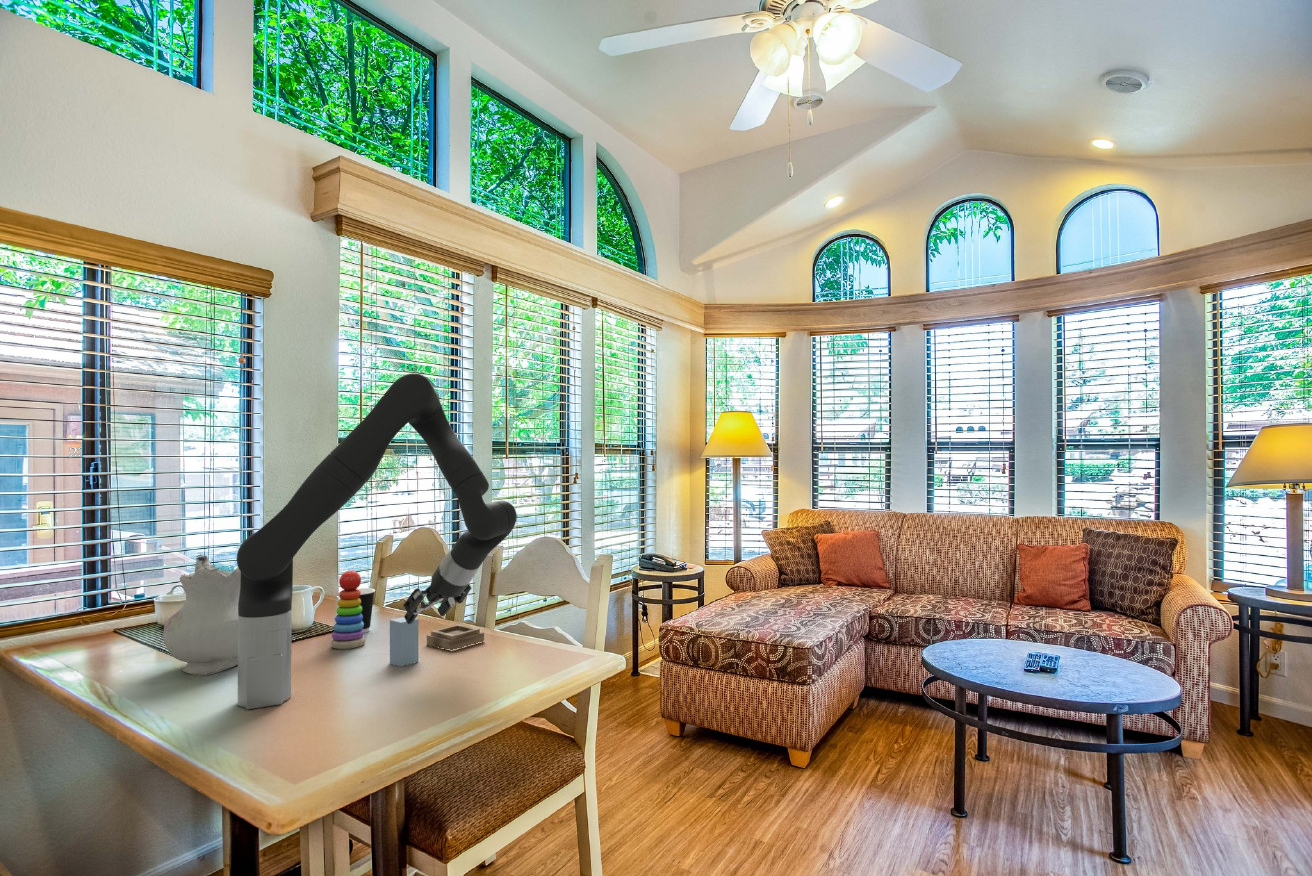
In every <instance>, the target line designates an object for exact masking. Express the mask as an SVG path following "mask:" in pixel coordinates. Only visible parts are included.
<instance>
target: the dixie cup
mask: <svg viewBox="0 0 1312 876" xmlns="http://www.w3.org/2000/svg"><path fill="white" fill-rule="evenodd" d="M357 590H359V591H360V592H361V594H360V596H359V597H358V598H359V599H360V600H361V604H360V606H361V607H362V612H361V614H362V615H363V619H362V621H363V623H364V627H363V628H362V629H363V630H364V634H365V633H368V632H369V630H370V627H371V622H372V615H373V607H374V606H373V605H374V597H375V592H376V589H375V588H370V587H358V588H357Z"/></svg>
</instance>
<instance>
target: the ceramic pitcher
mask: <svg viewBox="0 0 1312 876" xmlns="http://www.w3.org/2000/svg"><path fill="white" fill-rule="evenodd" d="M195 559H196V562H195V566H194V572H192V573H189V574H188V575H187V574H181V575H180V577H179V581H180V583H181V586H182V587H183V590H184V592H185V601H184V604H183V606H182V607H181V608H179V610H177V611H176V612H175V613H173V614H172V615H170V617H169V618H168V619H167V620H166V621H165V623H164V627H163V637H162V639H163V644H164V645H165V647H166V650H167V652H169V654H170V656H172V657H173V658H175V659H176V660H178V661H180V662H185V663H187V664H186V665H185V667H184V668H182V669H181V671H183V672H185V673H187V674H190V675H195V676H209V675H215V674H217V673H221V672H222V671H225V670H228V669H231V668H233V667H238V666H237V665H238V602H239V595H240V580H241V572H240V570H239V568H238V566H237V567H236V568H235V569H234V570H233V571H229V570H223V569H220V567H216V566H217V565H216V564H212V565H211V562H210V559H209V557H208V556H207V555H205V554H204V555H202V554H198V555H196V558H195ZM205 674H206V675H205Z"/></svg>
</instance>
